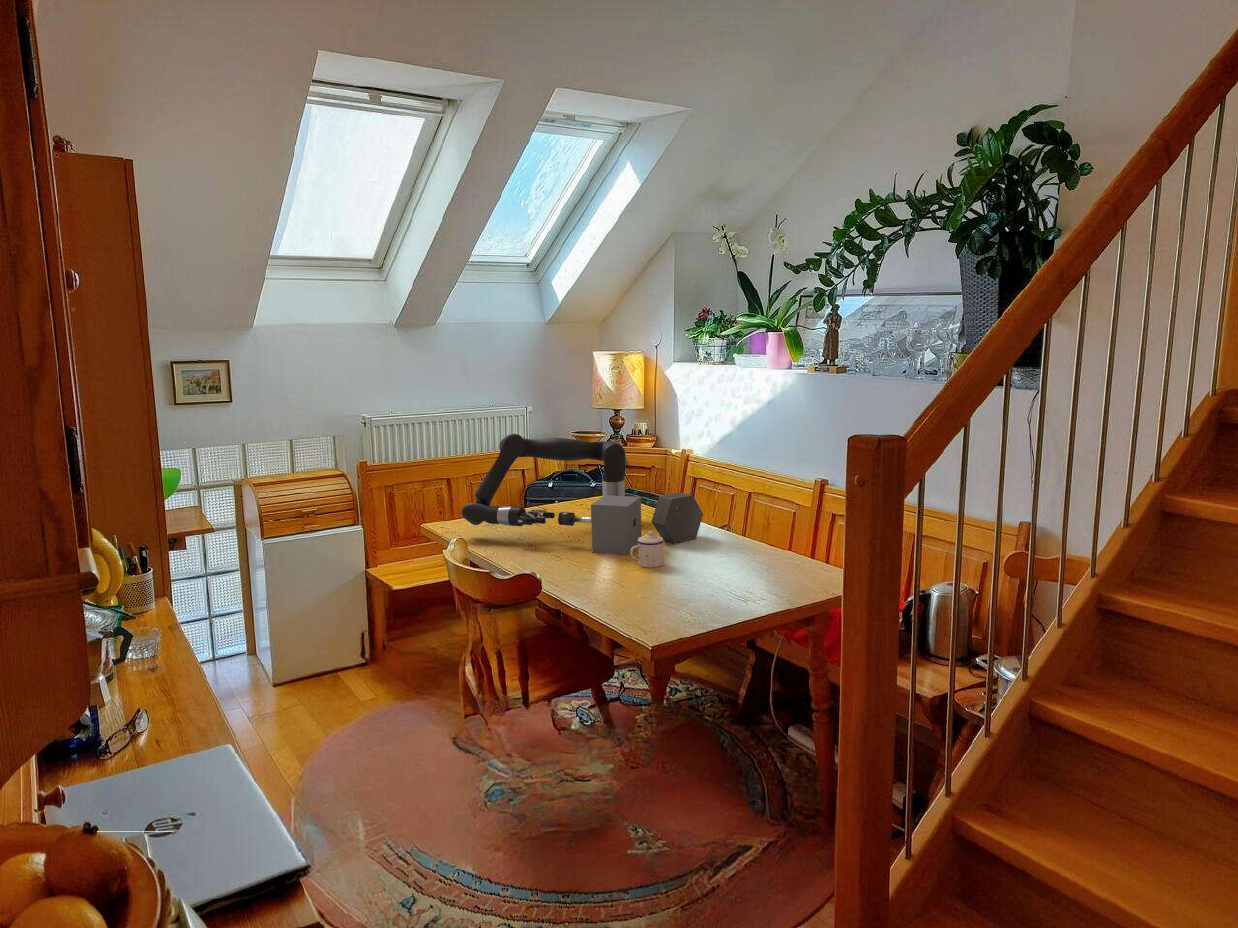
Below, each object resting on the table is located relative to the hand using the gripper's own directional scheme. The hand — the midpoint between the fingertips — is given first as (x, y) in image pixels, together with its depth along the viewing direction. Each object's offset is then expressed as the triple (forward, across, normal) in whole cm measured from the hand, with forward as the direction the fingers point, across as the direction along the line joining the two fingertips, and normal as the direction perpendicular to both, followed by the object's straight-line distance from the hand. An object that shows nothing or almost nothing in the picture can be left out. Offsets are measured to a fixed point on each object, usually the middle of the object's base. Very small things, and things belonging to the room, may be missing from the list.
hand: (549, 518), depth 327 cm
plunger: (+14, 0, +2) cm, 14 cm away
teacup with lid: (+44, -18, +10) cm, 49 cm away
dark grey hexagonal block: (+46, +16, +10) cm, 50 cm away
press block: (+27, 0, +10) cm, 29 cm away
